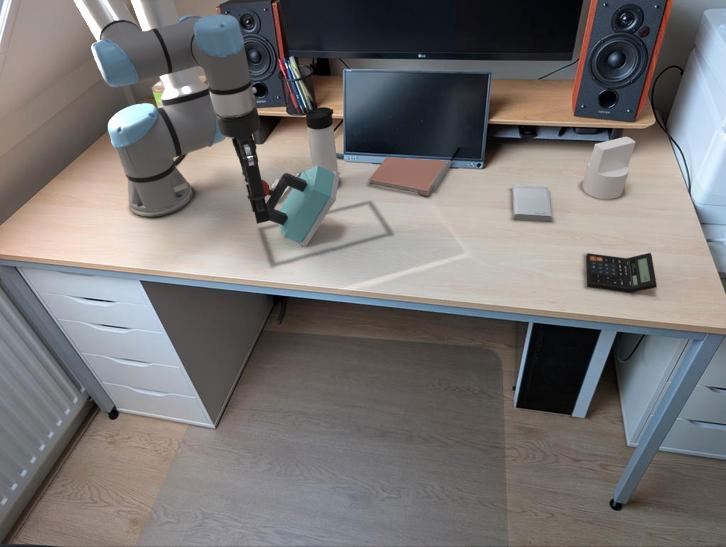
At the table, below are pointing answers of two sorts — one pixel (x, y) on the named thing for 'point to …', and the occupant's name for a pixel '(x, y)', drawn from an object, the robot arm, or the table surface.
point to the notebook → (411, 174)
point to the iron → (302, 202)
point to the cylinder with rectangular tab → (608, 168)
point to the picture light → (278, 181)
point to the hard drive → (531, 203)
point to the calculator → (620, 272)
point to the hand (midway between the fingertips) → (261, 215)
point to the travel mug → (322, 138)
